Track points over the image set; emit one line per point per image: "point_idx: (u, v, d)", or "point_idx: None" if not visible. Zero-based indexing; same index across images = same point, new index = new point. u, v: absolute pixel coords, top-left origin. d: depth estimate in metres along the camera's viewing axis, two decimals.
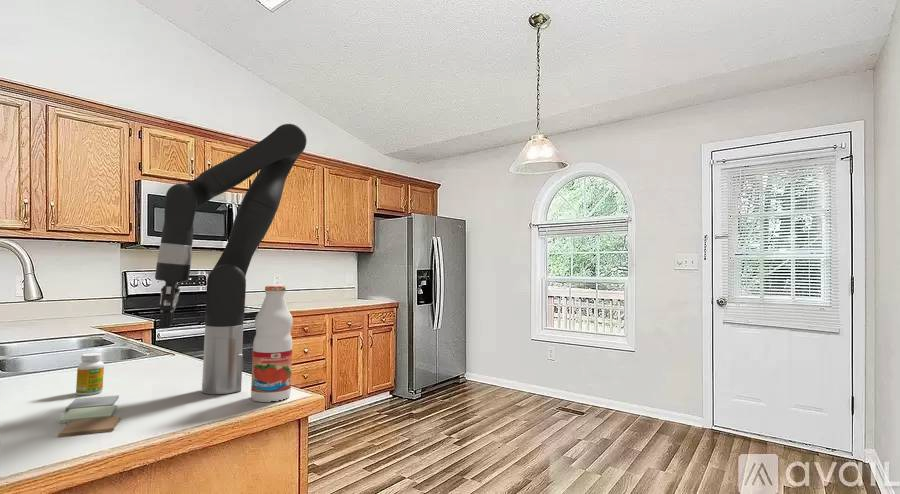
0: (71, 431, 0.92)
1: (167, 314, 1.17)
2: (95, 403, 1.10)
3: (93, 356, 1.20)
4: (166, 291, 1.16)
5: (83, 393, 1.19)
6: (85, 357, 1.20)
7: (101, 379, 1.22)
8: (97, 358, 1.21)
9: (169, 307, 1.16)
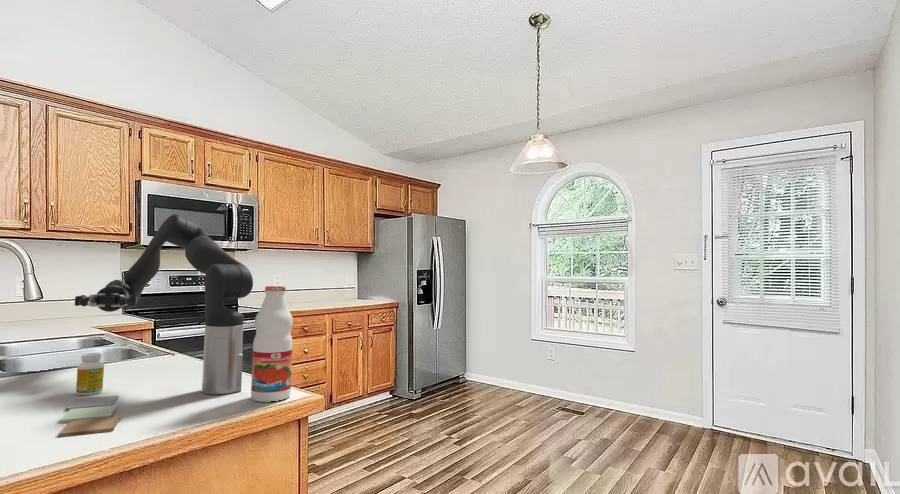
0: (71, 431, 0.92)
1: None
2: (95, 403, 1.10)
3: (93, 356, 1.20)
4: None
5: (83, 393, 1.19)
6: (85, 357, 1.20)
7: (101, 379, 1.22)
8: (97, 358, 1.21)
9: None
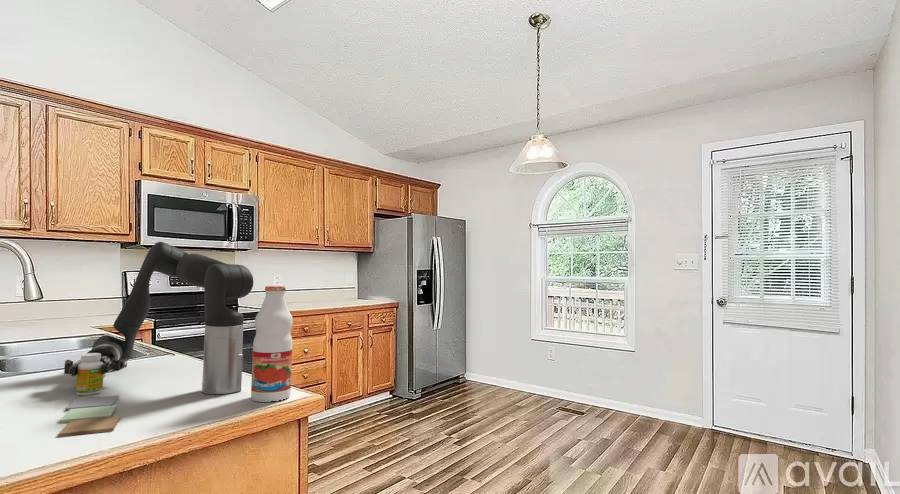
0: (71, 431, 0.92)
1: (71, 367, 1.20)
2: (95, 403, 1.10)
3: (93, 356, 1.20)
4: None
5: (83, 393, 1.19)
6: (85, 357, 1.20)
7: (101, 379, 1.22)
8: (97, 358, 1.21)
9: None
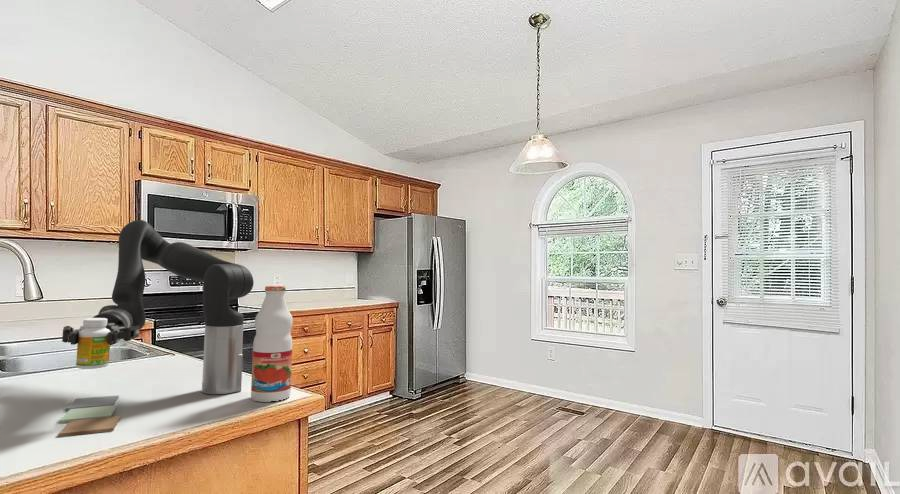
0: (71, 431, 0.92)
1: None
2: (95, 403, 1.10)
3: (97, 321, 0.97)
4: None
5: (85, 366, 0.96)
6: (88, 322, 0.96)
7: (107, 349, 0.99)
8: (103, 324, 0.98)
9: None
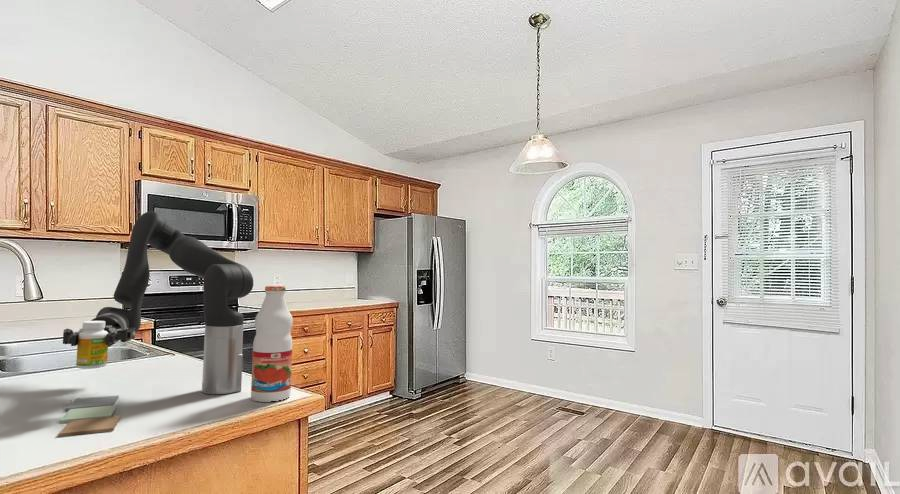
0: (71, 431, 0.92)
1: None
2: (95, 403, 1.10)
3: (96, 323, 1.03)
4: None
5: (84, 366, 1.02)
6: (87, 324, 1.03)
7: (106, 350, 1.05)
8: (101, 326, 1.04)
9: None
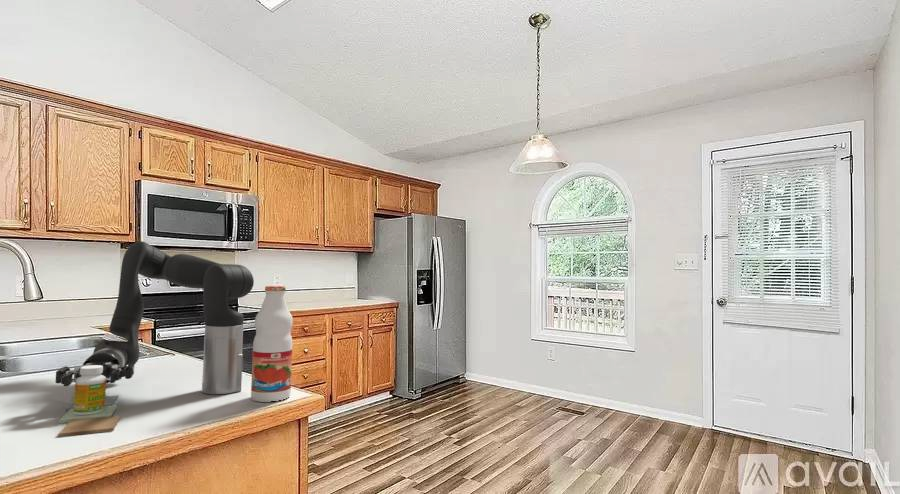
0: (71, 431, 0.92)
1: (64, 376, 1.03)
2: None
3: (94, 369, 1.03)
4: None
5: (82, 413, 1.01)
6: (84, 370, 1.02)
7: (103, 395, 1.04)
8: (99, 371, 1.04)
9: None
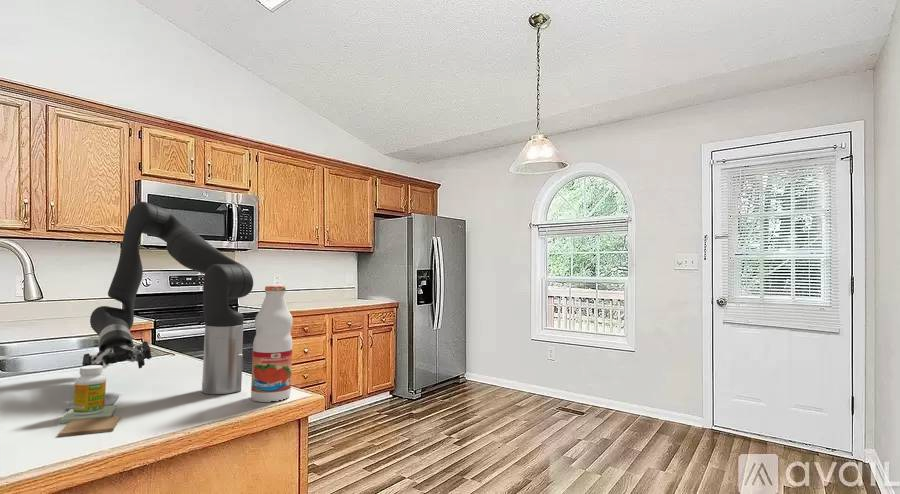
0: (71, 431, 0.92)
1: None
2: None
3: (93, 369, 1.03)
4: None
5: (82, 413, 1.01)
6: (84, 370, 1.02)
7: (103, 395, 1.04)
8: (98, 371, 1.04)
9: None
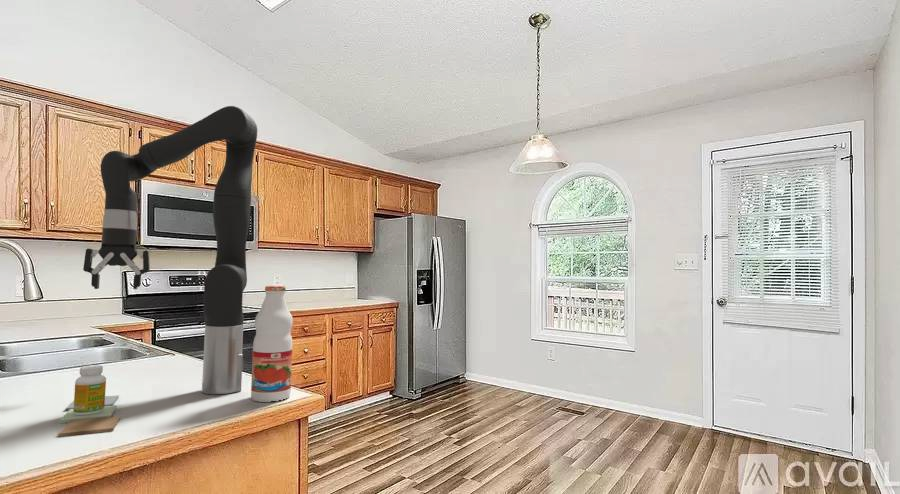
0: (71, 431, 0.92)
1: None
2: None
3: (93, 369, 1.03)
4: None
5: (82, 413, 1.01)
6: (84, 370, 1.02)
7: (103, 395, 1.04)
8: (98, 371, 1.04)
9: None
